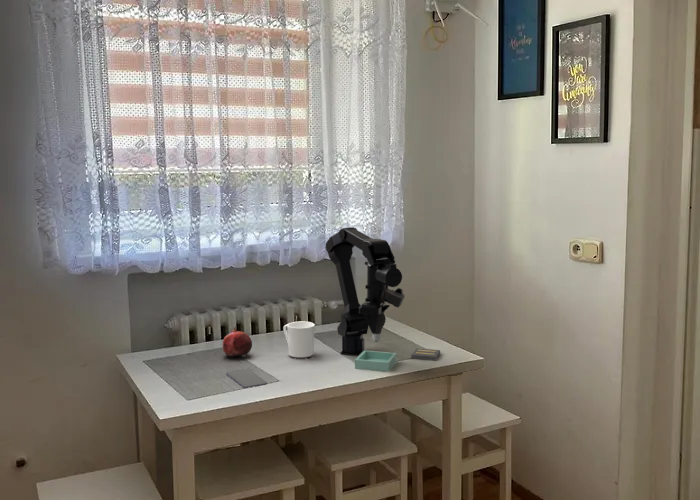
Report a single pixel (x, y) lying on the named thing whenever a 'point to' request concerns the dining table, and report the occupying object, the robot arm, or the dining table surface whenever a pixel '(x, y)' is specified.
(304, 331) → the mug
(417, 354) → the pad
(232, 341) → the fruit
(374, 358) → the teal square tray
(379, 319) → the light bulb
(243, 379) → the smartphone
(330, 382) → the dining table surface
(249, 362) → the dining table surface
